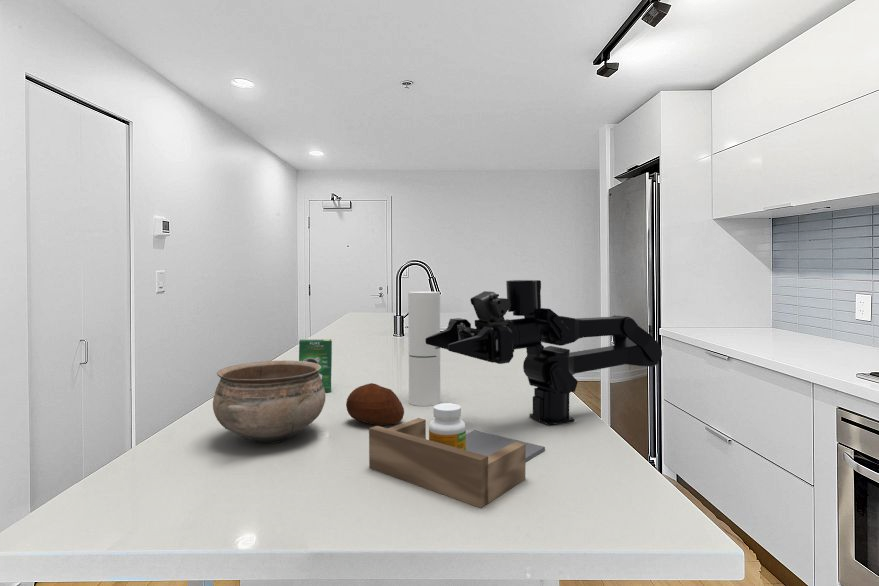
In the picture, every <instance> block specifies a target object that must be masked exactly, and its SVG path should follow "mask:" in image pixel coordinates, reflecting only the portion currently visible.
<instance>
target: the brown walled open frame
mask: <svg viewBox="0 0 879 586" xmlns="http://www.w3.org/2000/svg"><path fill="white" fill-rule="evenodd" d="M426 424H427V420H426V419H424V418H420V417H417V418H414V419H411V420H408V421H406V422H405V421H404V422H403V423H400V424H397V425H396V424H395V425H394V426H391V427H389V428H386V427H383V426H381V425H375V426H371V427H369V428H368V435H369V436H368V462H369V463H368V468H369V469H371V470H375V471H377V472H380V473H383V474H385V475H388V476H391V477H393V478H397V479H398V480H402V481H405V482H408V483H411V484H413V485H415V486H419V487H422V488H424V489H427V490H430V491H433V492H435V493H438V494H440V495H444V496H446V497H449V498H452V499H455V500H458V501H461V502H463V503H466V504H469V505H471V506H474V507H477V508H480V509H482V508H483V507H485V506H487V505H488V504H490V503H491V502H493V501H494V500H496V499H497V498H498V497H500V496H501V495H503V494H505V493H507V491H509V490H511V489H512V488H514V487H515V486H517V485H519V484H520V483H522V482H523V481H524V480H526V462H527V461H526V444H523V443H519V442H514V443H512V444H510V445H508V446H506V447H504V448H502V449H500V450H499V451H497V452H495V453H493V454H491V455H489V456H485V455H481V454H477V453H474V452H470V451H467V450H463V449H459V448H456V447H452V446H448V445H445V444H441V443H438V442H434V441H430V440H429V439H426V438H427V433H426V432H427V431H426V430H427V429H426V426H427V425H426ZM525 461H526V462H525Z"/></svg>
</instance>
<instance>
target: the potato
mask: <svg viewBox="0 0 879 586" xmlns="http://www.w3.org/2000/svg"><path fill="white" fill-rule="evenodd" d="M345 405H346V407H345V408H346V411H347V413H348V415H349V416H350V417H351V418H352V419H353V420H355V421H357V422H360V423H365V424H368V425H369V424H371V425H375V426H390V425H396V424H398V423H401V421H402V420H403V418H404V415H405V408H404V406H403V404H402V402H401V400H400V399H399V398H398V396H397V395H396V393H395V392H394V391H393V390H392V389H391V388H388V387H384V386H381V385H379V384H378V383H377V384H376V383H373V382H371V383H366V384H364V385H360V386H358V387H356V388H355V389H353V390H352V392H350V393H349V394H348V397H347V398H346V403H345Z"/></svg>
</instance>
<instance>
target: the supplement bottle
mask: <svg viewBox="0 0 879 586" xmlns="http://www.w3.org/2000/svg"><path fill="white" fill-rule="evenodd" d="M432 413H433V417H434V419H433V420H431V421H430V423H429V425H428V440H430V441H434V442H438V443H441V444H445V445H448V446H452V447H456V448H459V449H463V450H466V434H467V432H466V431H467V427H466V423H465V422H464V421H463V420H462V419H461V416H462V415H461V414H462V407H461V405H459V404H457V403H456V404H455V403H450V402H449V403H448V402H447V403H439V404H437V405H433V412H432Z"/></svg>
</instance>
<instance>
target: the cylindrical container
mask: <svg viewBox="0 0 879 586" xmlns="http://www.w3.org/2000/svg"><path fill="white" fill-rule="evenodd" d="M407 302H408V303H407V304H408V403H409V404H410V405H412V406H416V407H434V406H435V405H437V404H441V348H440V347H436V346H432V345H428V344H426V341H425V339H426V338H427V337H429V336H432V335H434V334H437V333H439V332H441V291H408V301H407Z"/></svg>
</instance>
